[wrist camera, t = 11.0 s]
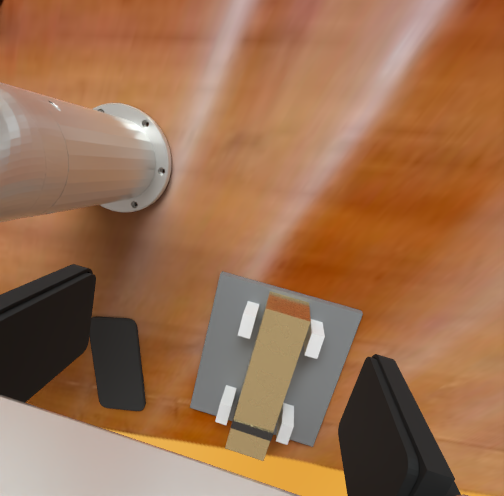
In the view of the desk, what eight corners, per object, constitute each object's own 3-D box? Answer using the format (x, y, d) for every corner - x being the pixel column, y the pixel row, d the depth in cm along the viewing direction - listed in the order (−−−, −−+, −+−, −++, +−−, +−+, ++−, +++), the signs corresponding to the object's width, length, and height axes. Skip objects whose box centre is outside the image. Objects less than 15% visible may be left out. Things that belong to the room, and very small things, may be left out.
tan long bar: (269, 291, 39) (265, 308, 34) (309, 302, 38) (311, 322, 33) (232, 417, 44) (224, 449, 39) (267, 429, 44) (263, 462, 39)
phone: (135, 320, 43) (145, 412, 47) (138, 317, 44) (147, 408, 48) (86, 317, 44) (99, 407, 48) (90, 314, 45) (102, 403, 49)
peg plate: (192, 402, 46) (181, 426, 41) (222, 271, 40) (213, 283, 36) (312, 440, 44) (313, 470, 40) (361, 310, 39) (369, 328, 34)
